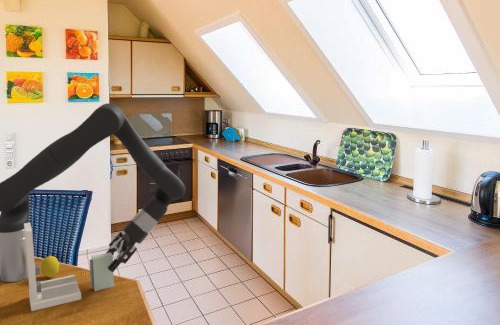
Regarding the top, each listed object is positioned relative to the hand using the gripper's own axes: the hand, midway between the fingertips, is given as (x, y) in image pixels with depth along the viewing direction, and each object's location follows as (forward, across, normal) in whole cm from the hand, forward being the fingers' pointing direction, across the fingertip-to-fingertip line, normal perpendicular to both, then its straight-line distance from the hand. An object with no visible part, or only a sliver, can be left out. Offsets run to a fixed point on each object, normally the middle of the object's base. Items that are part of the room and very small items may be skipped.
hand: (106, 265), depth 128 cm
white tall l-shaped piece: (+16, 0, -6) cm, 17 cm away
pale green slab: (+6, 0, +4) cm, 7 cm away
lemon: (+16, -16, -5) cm, 23 cm away
